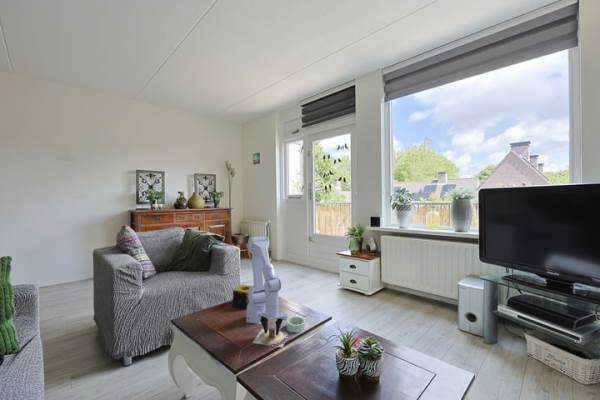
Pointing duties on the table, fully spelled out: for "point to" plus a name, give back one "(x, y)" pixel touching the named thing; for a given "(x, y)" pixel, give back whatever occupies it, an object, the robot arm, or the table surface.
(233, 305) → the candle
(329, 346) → the table surface
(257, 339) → the mat
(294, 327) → the bowl
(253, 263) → the robot arm
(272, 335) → the lid
